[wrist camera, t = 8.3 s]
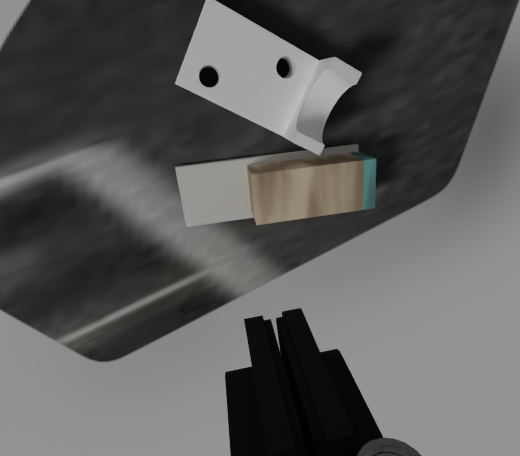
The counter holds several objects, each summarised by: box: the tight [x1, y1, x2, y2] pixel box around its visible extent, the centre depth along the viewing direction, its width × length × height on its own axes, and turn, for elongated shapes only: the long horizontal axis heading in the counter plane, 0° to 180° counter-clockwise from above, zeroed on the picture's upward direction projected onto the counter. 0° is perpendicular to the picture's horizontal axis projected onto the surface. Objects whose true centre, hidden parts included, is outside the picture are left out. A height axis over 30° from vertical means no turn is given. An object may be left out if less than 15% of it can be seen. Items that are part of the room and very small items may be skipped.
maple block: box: [247, 151, 376, 225], centre depth 36 cm, size 4×5×12 cm
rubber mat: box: [175, 144, 359, 227], centre depth 37 cm, size 19×6×1 cm, turn 95°
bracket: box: [175, 0, 362, 156], centre depth 30 cm, size 13×7×8 cm, turn 64°
